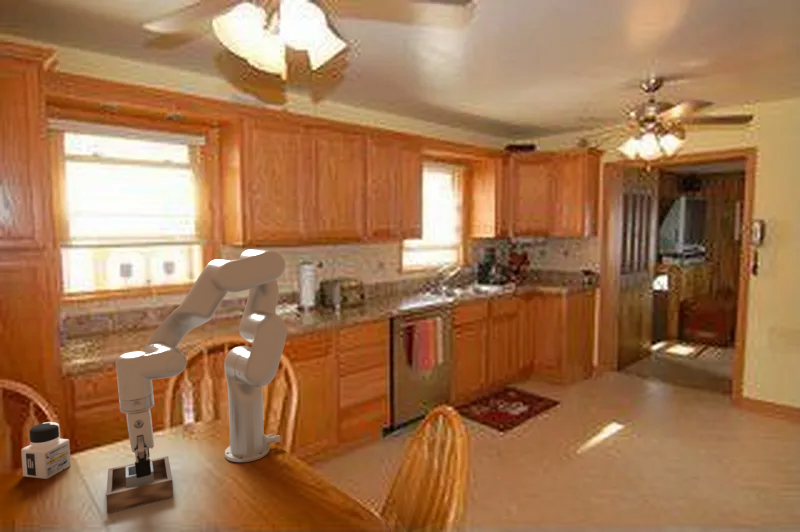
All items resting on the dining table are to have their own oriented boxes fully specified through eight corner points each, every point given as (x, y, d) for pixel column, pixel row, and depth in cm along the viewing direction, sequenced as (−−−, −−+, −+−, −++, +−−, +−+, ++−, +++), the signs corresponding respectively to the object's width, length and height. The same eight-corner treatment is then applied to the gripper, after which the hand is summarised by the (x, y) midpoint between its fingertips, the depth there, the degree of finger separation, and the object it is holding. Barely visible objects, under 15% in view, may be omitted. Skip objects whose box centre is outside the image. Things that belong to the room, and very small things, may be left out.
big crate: (169, 472, 133) (168, 456, 133) (173, 497, 121) (172, 479, 121) (109, 485, 127) (108, 468, 126) (107, 513, 115) (106, 495, 114)
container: (46, 479, 130) (43, 432, 129) (22, 476, 131) (18, 429, 130) (71, 465, 137) (68, 420, 136) (48, 462, 139) (45, 418, 138)
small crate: (153, 479, 128) (152, 461, 128) (154, 490, 123) (153, 471, 122) (126, 485, 125) (125, 466, 125) (126, 497, 120) (125, 477, 119)
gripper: (155, 410, 116) (161, 478, 118) (152, 388, 131) (157, 449, 133) (119, 417, 113) (126, 488, 115) (120, 394, 128) (126, 456, 130)
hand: (143, 467), depth 124 cm, fingers open, 9 cm apart
